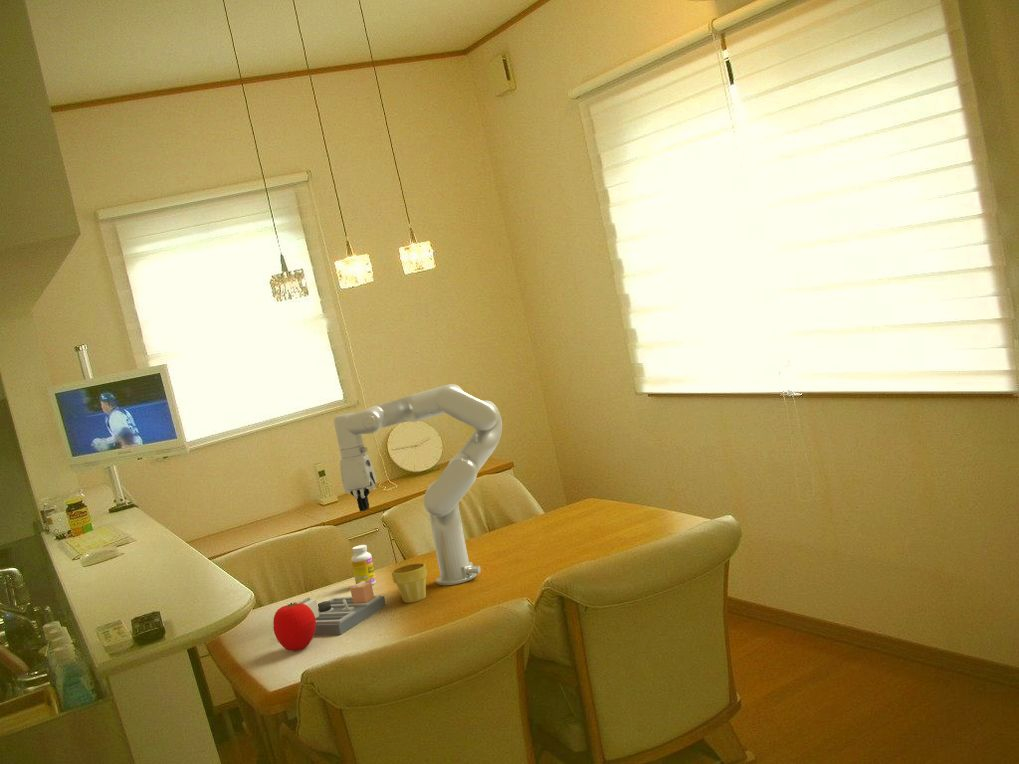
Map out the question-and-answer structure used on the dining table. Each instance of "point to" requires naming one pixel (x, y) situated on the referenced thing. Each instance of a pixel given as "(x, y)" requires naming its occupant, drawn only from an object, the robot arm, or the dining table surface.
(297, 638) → the tomato
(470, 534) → the dining table surface
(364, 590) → the salmon pink block
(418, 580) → the plant pot
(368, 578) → the supplement bottle
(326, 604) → the black button
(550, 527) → the dining table surface
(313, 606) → the cream slider
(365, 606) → the grey slotted tray
